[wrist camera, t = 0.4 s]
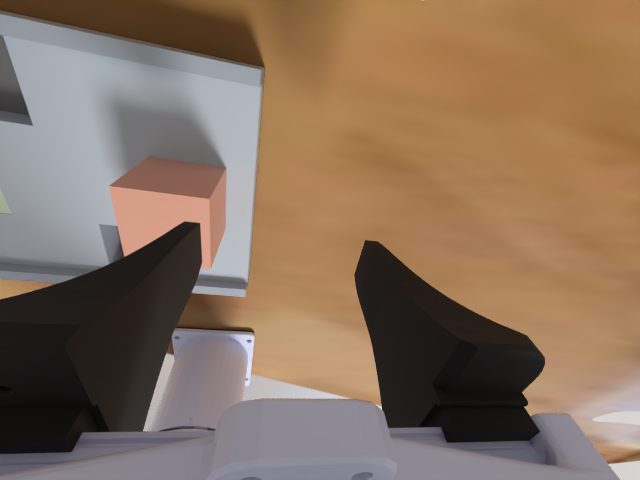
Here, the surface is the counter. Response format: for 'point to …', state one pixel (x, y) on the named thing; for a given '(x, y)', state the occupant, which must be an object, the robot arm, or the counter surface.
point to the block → (170, 203)
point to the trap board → (114, 143)
